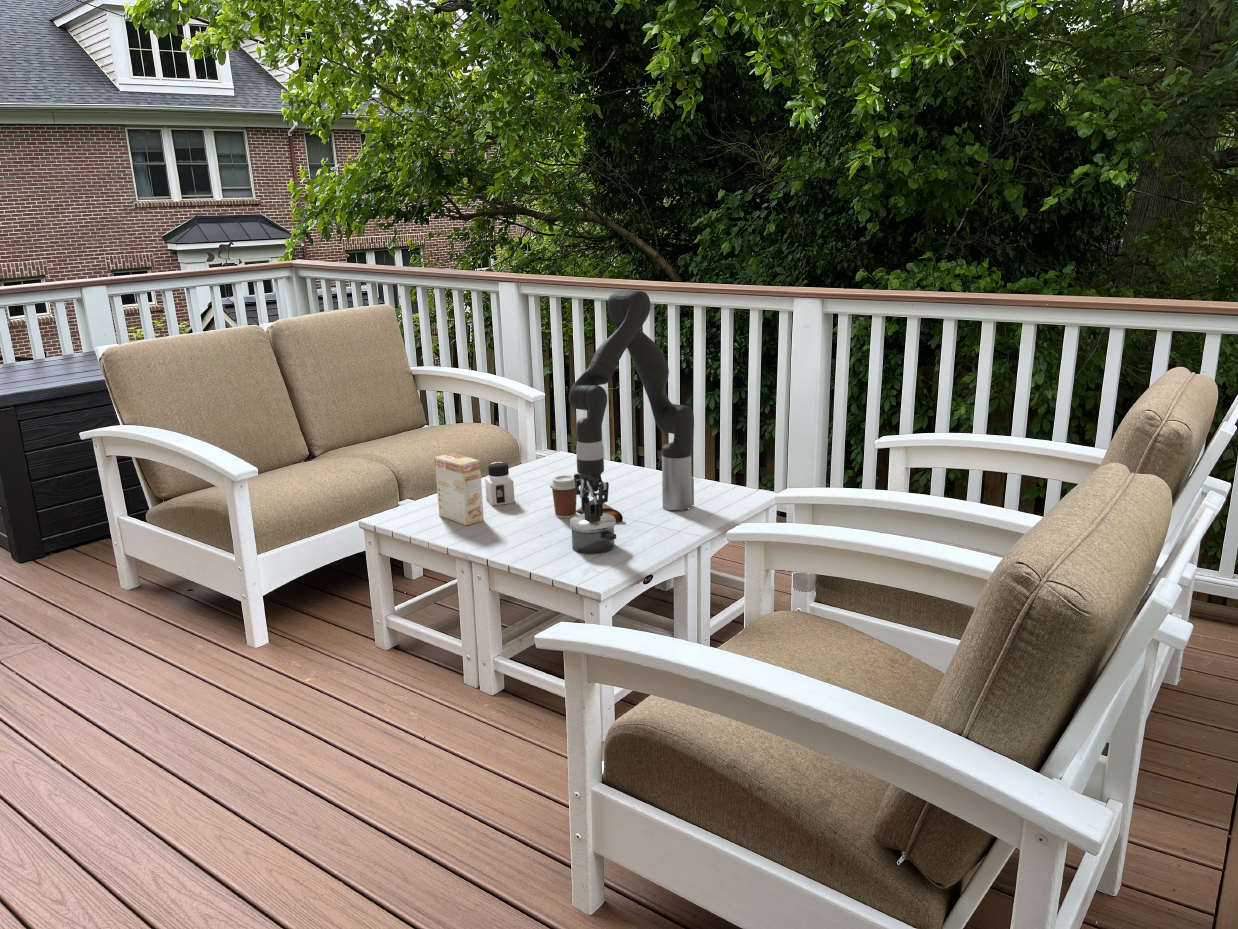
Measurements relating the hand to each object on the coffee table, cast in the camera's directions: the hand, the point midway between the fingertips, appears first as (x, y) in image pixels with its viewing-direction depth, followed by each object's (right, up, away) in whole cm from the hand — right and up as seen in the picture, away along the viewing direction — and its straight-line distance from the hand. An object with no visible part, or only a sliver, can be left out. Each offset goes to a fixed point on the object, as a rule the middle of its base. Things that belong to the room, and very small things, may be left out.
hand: (592, 513), depth 267 cm
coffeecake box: (-42, -3, +31) cm, 52 cm away
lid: (0, -3, +1) cm, 3 cm away
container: (-32, +1, +46) cm, 56 cm away
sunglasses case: (+1, -3, +29) cm, 29 cm away
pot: (0, -10, +3) cm, 10 cm away
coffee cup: (-9, -2, +31) cm, 32 cm away
